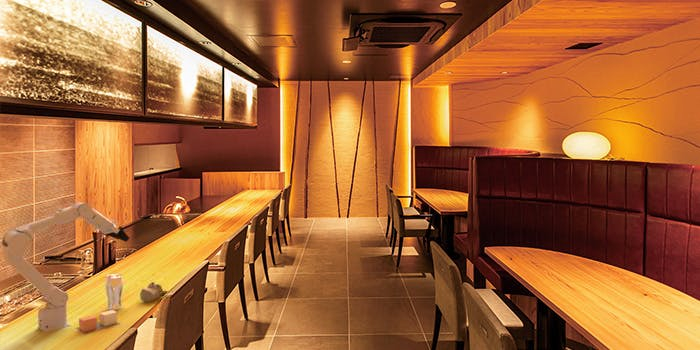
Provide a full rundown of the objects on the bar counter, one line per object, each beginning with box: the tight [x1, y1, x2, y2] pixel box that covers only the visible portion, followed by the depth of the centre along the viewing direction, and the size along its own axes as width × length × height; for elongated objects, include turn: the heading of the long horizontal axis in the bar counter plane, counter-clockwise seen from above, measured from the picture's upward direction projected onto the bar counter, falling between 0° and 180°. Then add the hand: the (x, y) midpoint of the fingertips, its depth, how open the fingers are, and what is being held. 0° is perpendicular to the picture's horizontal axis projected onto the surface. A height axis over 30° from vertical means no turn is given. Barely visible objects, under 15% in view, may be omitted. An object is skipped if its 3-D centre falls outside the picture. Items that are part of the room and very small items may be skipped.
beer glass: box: [105, 273, 124, 311], centre depth 211 cm, size 7×7×15 cm
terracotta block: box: [78, 314, 98, 332], centre depth 187 cm, size 5×4×4 cm
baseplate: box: [75, 321, 121, 335], centre depth 190 cm, size 14×9×1 cm, turn 141°
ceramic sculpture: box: [139, 281, 169, 304], centre depth 224 cm, size 11×9×15 cm
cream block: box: [99, 310, 118, 326], centre depth 193 cm, size 5×4×4 cm
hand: (123, 238), depth 209 cm, fingers open, 7 cm apart
